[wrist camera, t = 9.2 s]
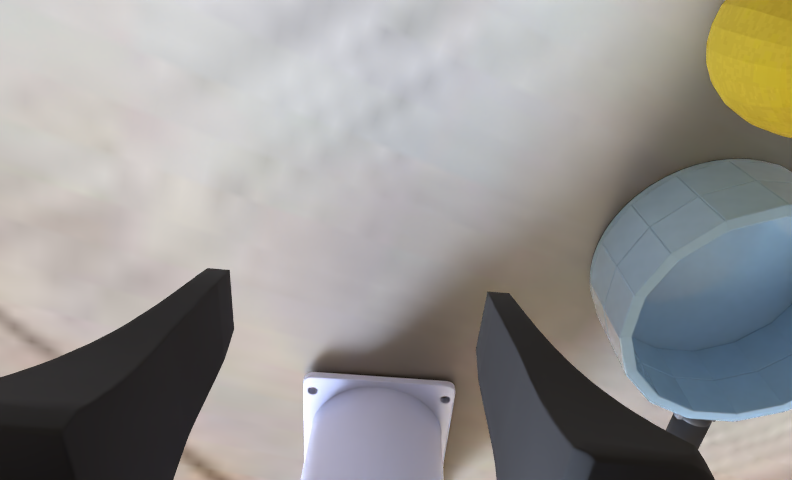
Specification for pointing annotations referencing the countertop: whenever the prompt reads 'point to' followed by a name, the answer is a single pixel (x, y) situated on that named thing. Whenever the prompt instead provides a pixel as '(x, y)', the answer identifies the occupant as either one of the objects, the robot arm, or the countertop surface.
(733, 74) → the lemon
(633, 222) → the pan
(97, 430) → the robot arm
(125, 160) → the countertop surface
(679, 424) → the pan handle
